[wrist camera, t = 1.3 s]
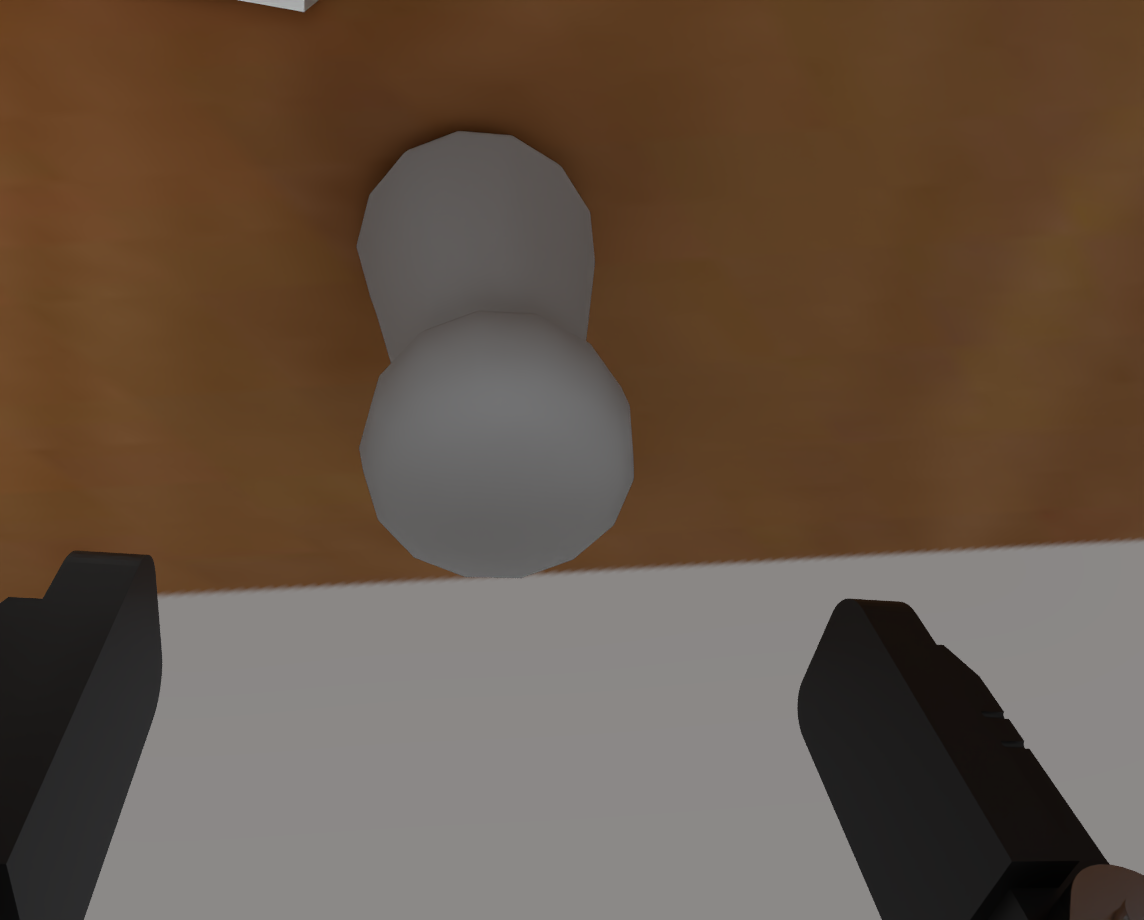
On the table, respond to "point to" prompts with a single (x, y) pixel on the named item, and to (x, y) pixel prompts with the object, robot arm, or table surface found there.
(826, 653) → the robot arm
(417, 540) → the salt shaker
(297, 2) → the caddy
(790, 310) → the table surface
